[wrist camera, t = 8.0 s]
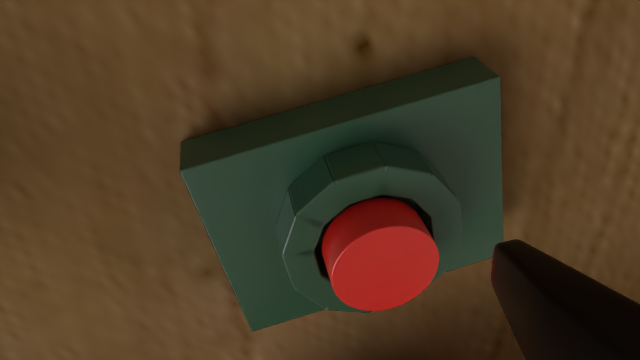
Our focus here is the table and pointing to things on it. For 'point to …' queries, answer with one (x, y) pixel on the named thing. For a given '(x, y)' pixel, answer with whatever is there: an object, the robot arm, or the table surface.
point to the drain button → (379, 254)
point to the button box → (349, 182)
